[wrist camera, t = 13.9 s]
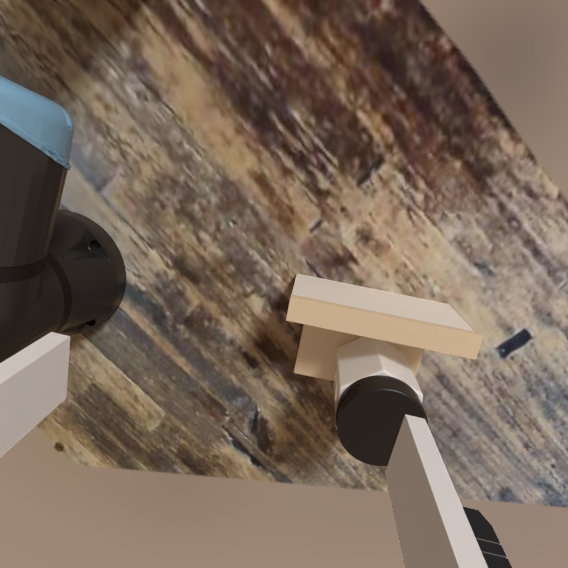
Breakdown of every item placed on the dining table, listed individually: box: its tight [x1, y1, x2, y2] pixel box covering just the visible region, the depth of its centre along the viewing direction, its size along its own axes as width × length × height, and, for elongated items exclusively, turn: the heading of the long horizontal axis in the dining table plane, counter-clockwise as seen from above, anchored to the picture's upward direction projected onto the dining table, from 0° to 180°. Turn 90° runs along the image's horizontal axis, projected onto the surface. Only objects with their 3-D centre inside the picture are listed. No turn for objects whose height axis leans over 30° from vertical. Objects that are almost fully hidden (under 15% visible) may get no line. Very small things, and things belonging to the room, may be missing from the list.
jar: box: [334, 337, 428, 466], centre depth 43 cm, size 9×8×12 cm
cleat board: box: [286, 274, 484, 381], centre depth 45 cm, size 18×12×11 cm, turn 80°
